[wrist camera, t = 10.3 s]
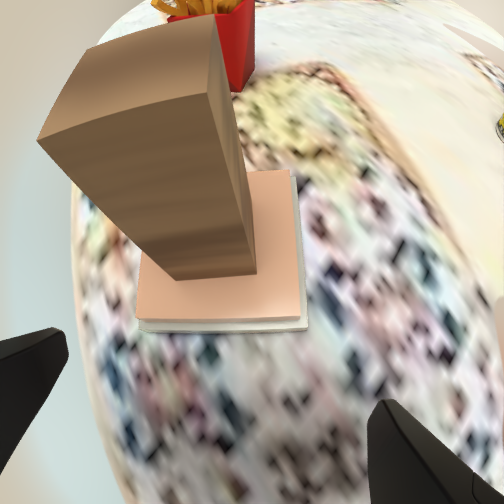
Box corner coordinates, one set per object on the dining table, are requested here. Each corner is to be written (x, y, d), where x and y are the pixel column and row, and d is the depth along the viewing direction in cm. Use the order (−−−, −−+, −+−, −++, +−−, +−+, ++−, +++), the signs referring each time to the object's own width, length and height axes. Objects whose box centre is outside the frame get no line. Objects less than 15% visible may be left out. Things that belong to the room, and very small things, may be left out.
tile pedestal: (306, 330, 19) (310, 323, 17) (147, 332, 20) (128, 325, 18) (295, 187, 24) (295, 163, 21) (160, 197, 25) (147, 177, 22)
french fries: (211, 61, 32) (186, -44, 18) (277, 66, 30) (268, -51, 16) (179, 106, 29) (135, -17, 15) (254, 113, 27) (233, -31, 13)
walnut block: (256, 274, 18) (206, 92, 6) (175, 281, 18) (36, 140, 6) (252, 201, 20) (213, 13, 8) (178, 210, 20) (87, 49, 8)
